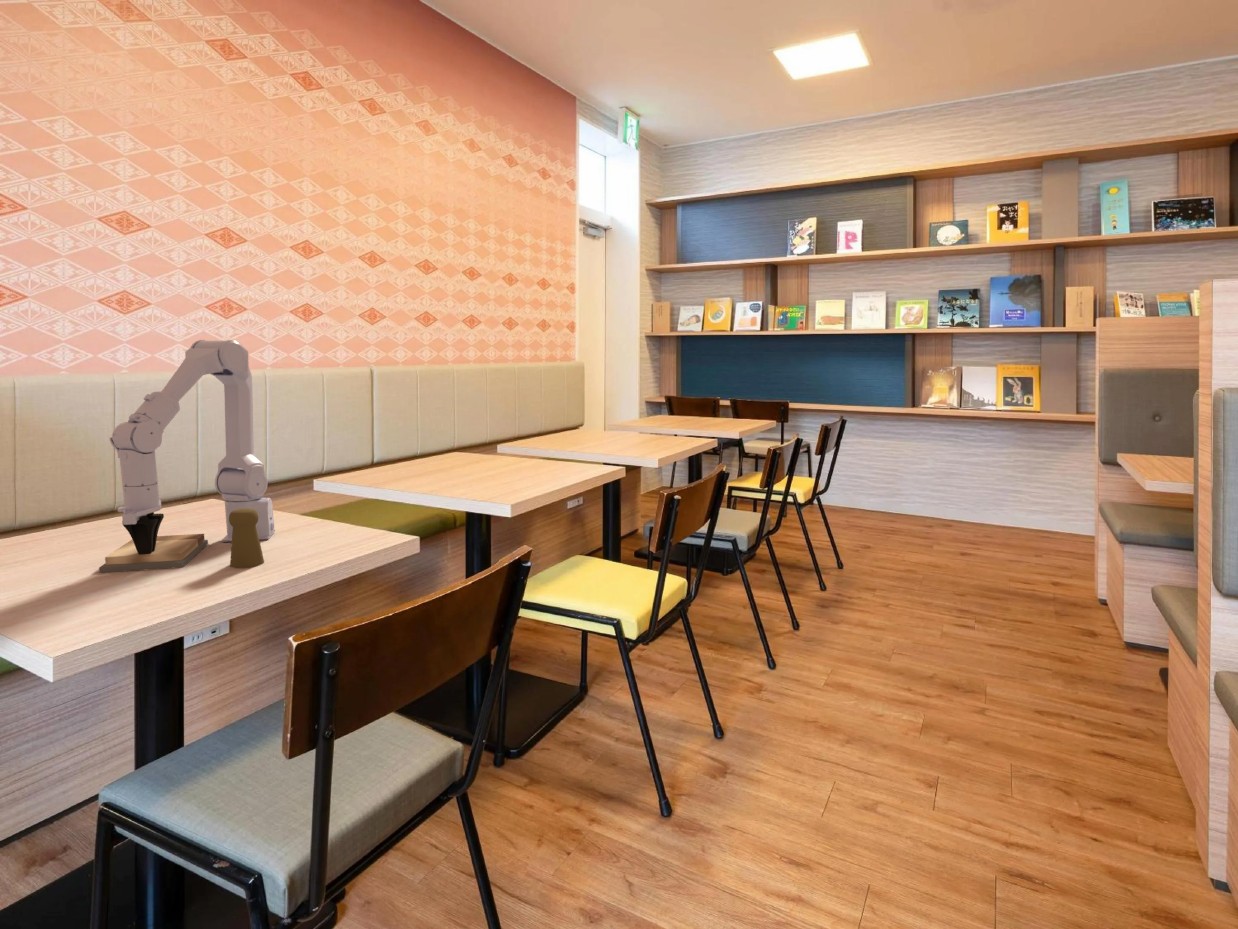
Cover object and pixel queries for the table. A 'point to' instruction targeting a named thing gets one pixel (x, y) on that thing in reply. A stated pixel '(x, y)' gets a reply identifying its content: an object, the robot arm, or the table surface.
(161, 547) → the oak plank
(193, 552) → the rubber mat
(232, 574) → the table surface
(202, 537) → the brown curved block
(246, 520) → the olive pawn
